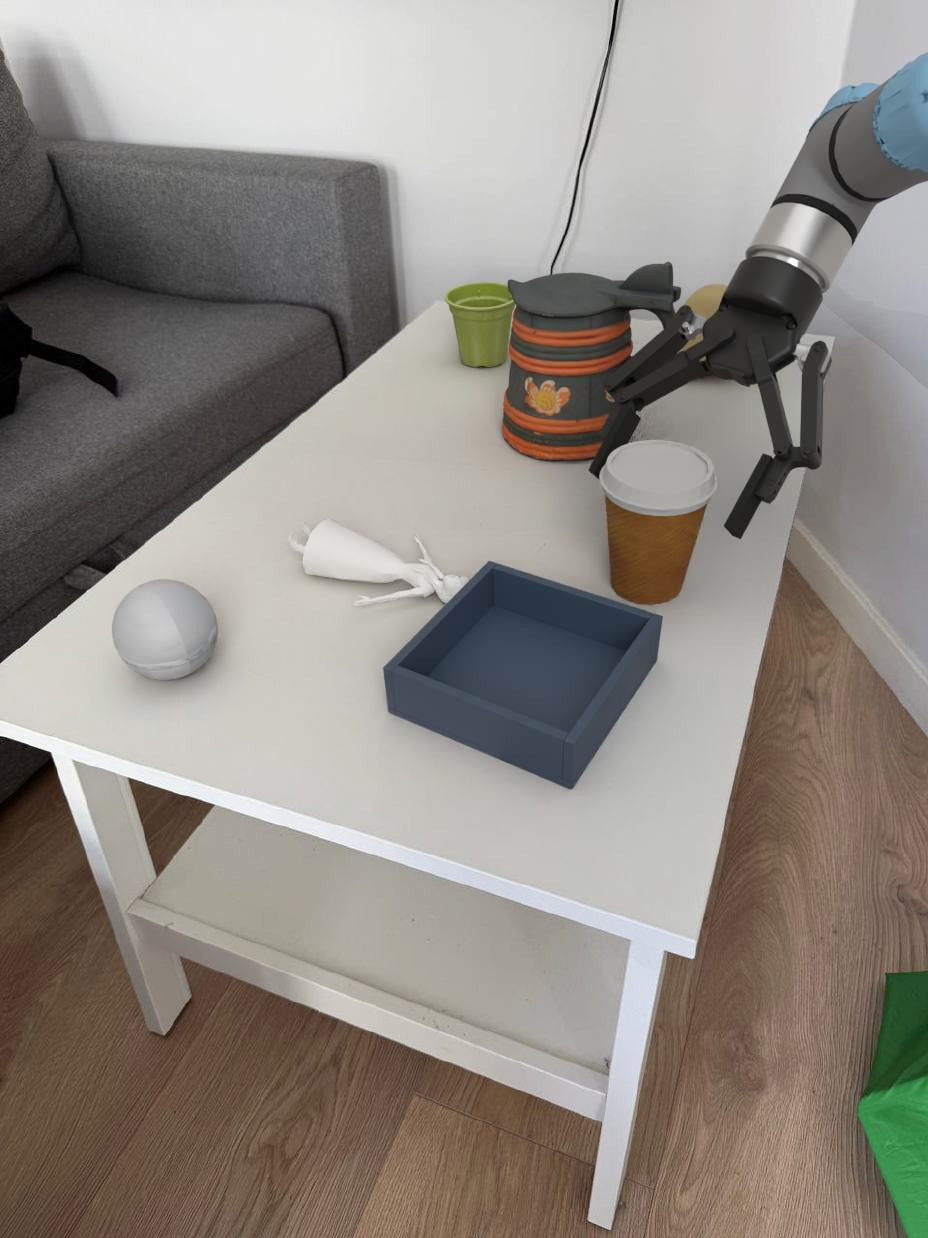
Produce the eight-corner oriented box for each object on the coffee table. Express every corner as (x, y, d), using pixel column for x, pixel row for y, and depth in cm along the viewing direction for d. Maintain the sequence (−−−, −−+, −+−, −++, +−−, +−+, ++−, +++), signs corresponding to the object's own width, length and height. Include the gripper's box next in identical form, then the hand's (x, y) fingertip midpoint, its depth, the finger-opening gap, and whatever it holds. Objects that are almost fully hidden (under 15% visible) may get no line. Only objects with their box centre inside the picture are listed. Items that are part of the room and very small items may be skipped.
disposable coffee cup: (702, 620, 77) (723, 498, 70) (589, 612, 79) (597, 491, 71) (698, 556, 85) (716, 439, 77) (594, 549, 86) (602, 434, 79)
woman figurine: (328, 487, 88) (500, 538, 82) (331, 525, 91) (497, 577, 85) (257, 551, 80) (442, 612, 74) (263, 591, 82) (442, 652, 77)
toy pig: (690, 380, 122) (636, 331, 118) (760, 310, 117) (705, 256, 113) (711, 411, 114) (653, 359, 110) (786, 337, 109) (729, 280, 105)
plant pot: (481, 380, 116) (479, 313, 111) (433, 359, 122) (429, 294, 116) (533, 359, 121) (534, 293, 116) (485, 340, 127) (483, 276, 121)
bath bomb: (244, 645, 77) (225, 567, 72) (194, 709, 71) (170, 630, 66) (161, 629, 79) (137, 552, 74) (107, 690, 73) (77, 612, 68)
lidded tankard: (678, 416, 107) (701, 238, 94) (656, 477, 96) (678, 286, 83) (522, 397, 112) (523, 226, 99) (485, 453, 101) (481, 270, 89)
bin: (657, 660, 74) (663, 615, 71) (571, 790, 63) (574, 744, 61) (489, 603, 80) (489, 560, 77) (387, 712, 70) (382, 667, 67)
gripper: (937, 335, 72) (806, 572, 74) (671, 270, 86) (565, 470, 88) (928, 285, 66) (785, 545, 67) (643, 224, 80) (529, 441, 81)
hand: (661, 503), depth 78 cm, fingers open, 13 cm apart
